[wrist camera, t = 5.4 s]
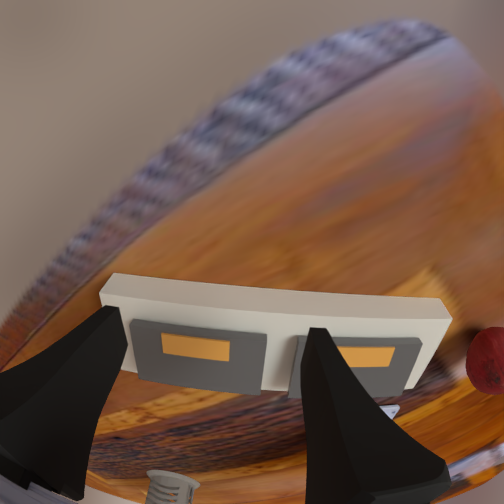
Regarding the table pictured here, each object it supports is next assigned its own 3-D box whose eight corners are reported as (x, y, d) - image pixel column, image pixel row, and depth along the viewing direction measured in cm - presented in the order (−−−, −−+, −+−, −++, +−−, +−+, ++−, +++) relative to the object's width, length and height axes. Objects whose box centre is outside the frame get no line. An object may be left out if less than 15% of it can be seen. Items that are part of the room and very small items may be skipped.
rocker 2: (398, 389, 21) (401, 396, 20) (287, 390, 21) (288, 399, 20) (418, 337, 19) (423, 344, 19) (298, 335, 20) (299, 343, 19)
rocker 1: (260, 387, 21) (260, 396, 20) (142, 371, 22) (138, 380, 21) (267, 334, 20) (267, 343, 19) (133, 318, 20) (128, 326, 19)
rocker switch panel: (392, 390, 27) (398, 410, 24) (137, 373, 27) (129, 393, 25) (439, 298, 21) (452, 318, 19) (113, 272, 22) (98, 292, 19)
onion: (443, 347, 24) (474, 414, 17) (484, 301, 21) (528, 364, 14) (472, 360, 25) (500, 418, 18) (508, 319, 22) (546, 375, 15)
